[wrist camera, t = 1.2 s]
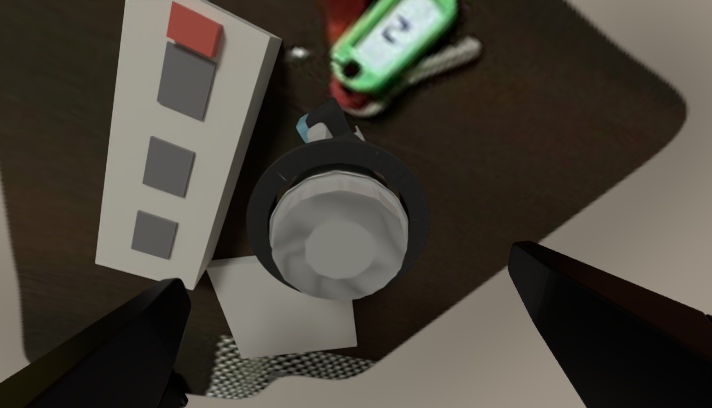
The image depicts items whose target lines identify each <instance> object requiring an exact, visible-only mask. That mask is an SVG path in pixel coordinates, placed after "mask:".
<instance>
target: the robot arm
mask: <svg viewBox="0 0 712 408" xmlns="http://www.w3.org/2000/svg"><path fill="white" fill-rule="evenodd" d="M508 271H509V275H510V277H511V279H512V281H513V283H514V285H515V287H516V289H517V291H518V293H519V295H520V297H521V299H522V301H523V303H524V305H525V307H526V309H527V311H528V313H529V315H530V317H531V319H532V321H533V323H534V325H535V326H536V328H537V330H538V331H539V333H540V334H541V336H542V338H543V339H544V340H545V342H546V344H547V346H548V347H549V349H550V350H551V352H552V353H553V355H554V356H555V358H556V360H557V361H558V363H559V365H560V366H561V368H562V369H563V371H564V373H565V374H566V376H567V377H568V379H569V381H570V382H571V384H572V385H573V387H574V388H575V390H576V392H577V393H578V395H579V396H580V398H581V400H582V401H583V403H584V404H585V406H586V407H587V408H712V316H711V315H708V314H707V315H705V314H704V313H703V312H701V311H699V310H696V309H694V308H692V307H689V306H687V305H685V304H682V303H680V302H677V301H674V300H672V299H670V298H668V297H665V296H663V295H660V294H658V293H655V292H653V291H650V290H648V289H645V288H643V287H641V286H639V285H636V284H634V283H631V282H629V281H626V280H624V279H621V278H619V277H616V276H614V275H612V274H609V273H607V272H605V271H602V270H600V269H597V268H595V267H593V266H590V265H588V264H585V263H583V262H580V261H578V260H576V259H573V258H571V257H568V256H566V255H564V254H561V253H559V252H556V251H554V250H551V249H549V248H546V247H544V246H542V245H539V244H537V243H534V242H532V241H520V242H515V243H514V244H513V245H512V248H511V253H510V258H509V263H508ZM191 308H192V301H191V298H190V296H189V294H188V292H187V289H186V287H185V285H184V283H183V281H182V280H181V279H180V278H168V279H163V280H161V281H159V282H157V283H156V284H154V285H153V286H151V287H150V288H148V289H147V290H145V291H143V292H142V293H140V294H139V295H137V296H136V297H134V298H132V299H131V300H129V301H128V302H126V303H125V304H123V305H122V306H120V307H118V308H117V309H115V310H114V311H112V312H111V313H109V314H107V315H106V316H104V317H103V318H101V319H100V320H98V321H97V322H95V323H93V324H92V325H90V326H89V327H87V328H86V329H84V330H82V331H81V332H79V333H78V334H76V335H75V336H73V337H71V338H70V339H68V340H67V341H65V342H64V343H62V344H61V345H59V346H57V347H56V348H54V349H53V350H51V351H50V352H48V353H46V354H45V355H43V356H42V357H40V358H39V359H37V360H36V361H34V362H32V363H31V364H29V365H28V366H26V367H25V368H23V369H22V370H20V371H18V372H17V373H15V374H14V375H12V376H11V377H9V378H7V379H6V380H4V381H3V382H1V383H0V408H183V407H185V406H186V405H187V402H188V398H187V396H186V395H185V393H184V391H183V390H182V388H181V386H180V385H179V383H178V381H177V379H176V378H175V376H174V374H173V373H172V370H173V367H174V364H175V361H176V358H177V355H178V352H179V349H180V345H181V342H182V339H183V335H184V332H185V329H186V325H187V322H188V319H189V315H190V312H191Z"/></svg>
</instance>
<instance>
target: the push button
mask: <svg viewBox="0 0 712 408" xmlns="http://www.w3.org/2000/svg"><path fill="white" fill-rule="evenodd" d="M355 127H356V131H357V132H355V133H353V132H351V130H350V128H349V127H348V124H347V121H346V119H345V116H344V113H343V111H342V109H341V107H340V106H339V104H338V102H337V101H336V99H335V98H334V97H333V98H332V99H330V100H329V101H327V102H325V103H324V104H322V105H321V106H319V107H317V108H316V109H314V110H313V111H311V112H309V113H308V114H306V115H305V116H303V117H301V118H300V120H299V122H298V124H297V126H296V128H297V130H298V132H299V134H300V135H301V137H302V138H303V140H304V141H305V143H306V144H303V145H300V146H298V147H296V148H294V149H292V150H290V151H288V152H287V153H285V154H283V155H282V156H281V157H279V158H278V159H277V160H276V161H275V162H273V163H272V164H271V165H270V166H269V167H268V169H267V170H266V171H265V172H264V173H263V175H262V176H261V178H260V179H259V181H258V183H257V184H256V186H255V188H254V190H253V192H252V194H251V197H250V200H249V203H248V207H247V213H246V229H247V235H248V239H249V242H250V245H251V248H252V250H253V252H254V254H255V256H256V257H257V259H258V260H259V262H260V263H261V264H262V266H263V267H264V268H265V269H266V270H267V271H268V272H269V273H270V274H271V275H272V276H273V277H274V278H276V279H277V280H278V281H280V282H281V283H283V284H284V285H286V286H288V287H290V288H292V289H294V290H296V291H299V292H301V293H304V294H305V295H308V296H310V297H316V298H321V299H325V300H329V301H346V300H351V299H360V298H362V297H364V296H366V295H370V294H373V293H374V292H375V291H377V290H380V289H382V288H384V287H386V286H388V285H390V284H391V283H393V282H394V281H396V280H397V279H398V278H400V277H401V276H402V275H403V274H404V273H405V272H406V271H408V270H409V268H410V267H411V266H412V265H413V264H414V262H415V261H416V260H417V258H418V257H419V255H420V253H421V252H422V250H423V247H424V245H425V243H426V239H427V236H428V231H429V222H430V216H429V207H428V202H427V199H426V196H425V193H424V191H423V189H422V187H421V185H420V183H419V182H418V180H417V179H416V177H415V176H414V174H413V173H412V171H411V170H410V169H409V168H408V167H407V166H406V165H405V164H404V163H403V162H402V161H401V160H400V159H399V158H397V157H396V156H395V155H393V154H392V153H390V152H389V151H387V150H385V149H383V148H381V147H379V146H377V145H374V144H371V143H370V142H368V141H365V139H364V138H363V136H362V134H361V132H360V131H359V129H358V127H357V126H355ZM383 176H384V177H385V178H386V179H388V180H389V181H390V182H391V183H392V184H393V185H394V186H395V187H396V188H397V189H398V191H399V194H400V202H399V200H398V198H397V197H396V196H395V194H394V193H392V192H391V191H390V190H389V189H388V187H387V184H386V182H385V179H384V177H383ZM292 178H293V180H292V182H291V185H290V188H289V191H287V192H286V193H285V194H284V195H283V196H282V198H281V200H280V201H279V203H278V205H277V204H276V200H277V193H278V192H279V191H280V189H281V188H282V187H283V186H284V185H285V184H286V183H287V182H288V181H290V180H291V179H292Z"/></svg>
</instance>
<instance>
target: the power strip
mask: <svg viewBox="0 0 712 408" xmlns="http://www.w3.org/2000/svg"><path fill="white" fill-rule="evenodd" d="M281 42H282V39H281V38H279V37H277V36H275V35H273V34H271V33H269V32H267V31H265V30H263V29H261V28H259V27H257V26H255V25H253V24H251V23H249V22H247V21H245V20H244V19H242V18H240V17H238V16H236V15H234V14H232V13H230V12H228V11H226V10H224V9H222V8H220V7H218V6H216V5H214V4H212V3H210V2H208V1H206V0H126V2H125V11H124V20H123V28H122V37H121V45H120V54H119V63H118V71H117V80H116V89H115V97H114V106H113V115H112V123H111V132H110V140H109V149H108V158H107V166H106V175H105V184H104V192H103V201H102V210H101V218H100V227H99V235H98V244H97V253H96V261H95V263H96V264H99V265H103V266H107V267H110V268H114V269H117V270H121V271H125V272H128V273H132V274H136V275H139V276H143V277H147V278H150V279H154V280H158V281H161V280H163V279H168V278H180V279H181V280H182V281H183V283H184V285H185V287H186V288H187V289H190V290H193V289H194V288H195V286H196V284H197V283H198V281H199V279H200V278H201V276H202V274H203V273H204V271H205V269H206V268H207V266H208V264H209V263H210V261H211V259H212V258H213V254H214V251H215V248H216V245H217V242H218V239H219V236H220V233H221V229H222V226H223V223H224V220H225V217H226V214H227V211H228V208H229V205H230V201H231V198H232V195H233V192H234V189H235V186H236V183H237V180H238V176H239V173H240V170H241V167H242V164H243V161H244V158H245V155H246V151H247V148H248V145H249V142H250V139H251V136H252V133H253V130H254V127H255V123H256V120H257V117H258V114H259V111H260V108H261V105H262V102H263V98H264V95H265V92H266V89H267V86H268V83H269V80H270V77H271V73H272V70H273V67H274V64H275V61H276V58H277V55H278V52H279V49H280V45H281Z"/></svg>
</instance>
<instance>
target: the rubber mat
mask: <svg viewBox="0 0 712 408" xmlns="http://www.w3.org/2000/svg"><path fill="white" fill-rule="evenodd" d="M206 269H207V272H208V274H209V277H210V279H211V282H212V284H213V287H214V289H215V292H216V294H217V297H218V299H219V302H220V304H221V307H222V309H223V312H224V314H225V317H226V319H227V322H228V324H229V327H230V329H231V332H232V334H233V337H234V339H235V342H236V344H237V347H238V349H239V352H240V354H241V357H242V359H246V358H255V357H264V356H273V355H282V354H291V353H300V352H309V351H319V350H328V349H337V348H346V347H355V346H357V339H356V330H355V321H354V313H353V304H352V299H351V300H346V301H329V300H325V299H321V298H316V297H310V296H308V295H305V294H304V293H301V292H299V291H296V290H294V289H292V288H290V287H288V286H286V285H284V284H283V283H281V282H280V281H278V280H277V279H276V278H274V277H273V276H272V275H271V274H270V273H269V272H268V271H267V270H266V269H265V268H264V267H263V266H262V264H261V263H260V262H259V260H258V259H257V257H256V256H248V257H239V258H229V259H219V260H211V261H210V263H209V264H208V266H207V268H206Z"/></svg>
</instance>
